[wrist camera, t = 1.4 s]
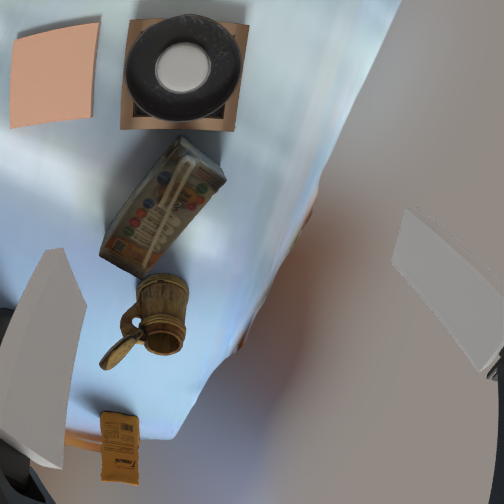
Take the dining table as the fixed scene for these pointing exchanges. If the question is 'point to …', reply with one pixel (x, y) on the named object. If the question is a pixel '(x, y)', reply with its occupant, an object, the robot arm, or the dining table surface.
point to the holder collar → (207, 123)
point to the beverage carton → (161, 208)
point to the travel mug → (183, 68)
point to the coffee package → (119, 448)
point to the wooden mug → (153, 319)
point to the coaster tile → (53, 75)
